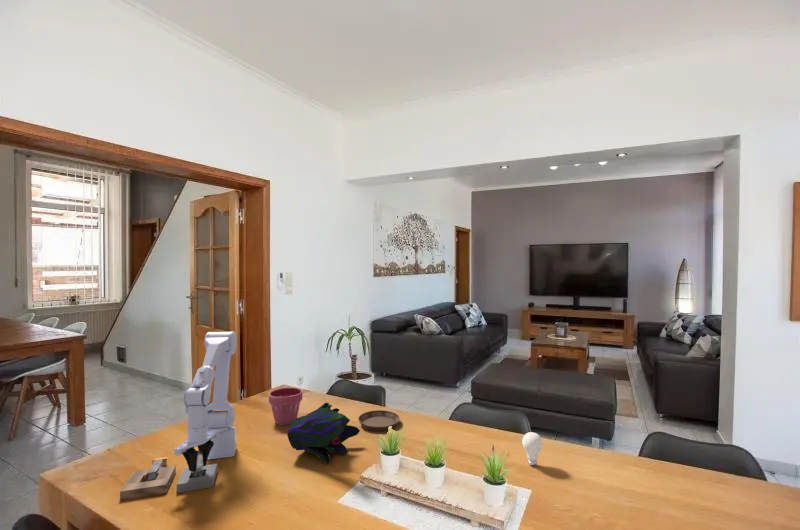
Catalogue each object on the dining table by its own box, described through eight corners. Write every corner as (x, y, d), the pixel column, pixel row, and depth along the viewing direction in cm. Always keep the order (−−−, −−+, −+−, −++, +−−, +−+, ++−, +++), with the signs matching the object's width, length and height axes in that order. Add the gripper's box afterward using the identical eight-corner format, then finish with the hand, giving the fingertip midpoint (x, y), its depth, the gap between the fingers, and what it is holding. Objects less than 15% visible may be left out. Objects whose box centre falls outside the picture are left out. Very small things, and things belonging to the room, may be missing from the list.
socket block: (175, 472, 132) (175, 465, 132) (166, 492, 121) (166, 484, 121) (133, 478, 129) (133, 471, 129) (120, 500, 117) (120, 491, 117)
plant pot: (288, 412, 186) (288, 384, 185) (309, 419, 177) (309, 390, 177) (262, 422, 174) (261, 393, 174) (282, 430, 166) (282, 399, 166)
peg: (199, 474, 129) (199, 449, 129) (205, 477, 128) (205, 452, 128) (190, 479, 127) (189, 453, 127) (196, 481, 125) (195, 456, 125)
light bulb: (542, 462, 138) (542, 430, 138) (542, 471, 132) (542, 438, 132) (522, 459, 140) (522, 427, 140) (521, 468, 134) (521, 435, 134)
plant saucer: (407, 422, 174) (407, 415, 174) (384, 437, 160) (384, 429, 159) (374, 414, 184) (374, 407, 184) (349, 427, 169) (349, 420, 169)
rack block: (217, 471, 133) (217, 463, 133) (212, 487, 124) (212, 479, 124) (183, 476, 130) (183, 468, 130) (176, 492, 121) (176, 484, 121)
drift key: (167, 464, 138) (167, 456, 137) (159, 479, 128) (159, 471, 128) (153, 466, 136) (153, 458, 136) (144, 481, 127) (143, 473, 127)
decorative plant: (315, 467, 154) (385, 457, 145) (270, 470, 132) (350, 459, 123) (314, 410, 163) (380, 398, 154) (272, 404, 142) (347, 389, 132)
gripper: (208, 415, 135) (208, 455, 135) (167, 431, 122) (167, 476, 122) (223, 418, 132) (223, 459, 132) (183, 436, 119) (183, 481, 119)
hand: (197, 468), depth 127 cm, fingers closed on peg, 3 cm apart
